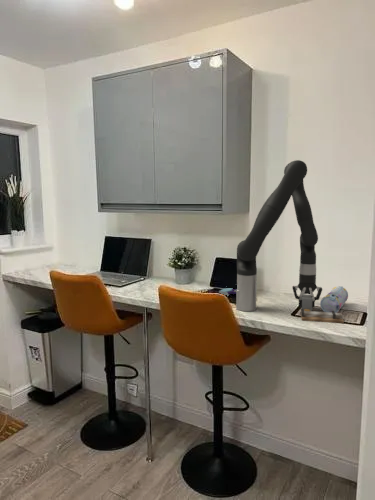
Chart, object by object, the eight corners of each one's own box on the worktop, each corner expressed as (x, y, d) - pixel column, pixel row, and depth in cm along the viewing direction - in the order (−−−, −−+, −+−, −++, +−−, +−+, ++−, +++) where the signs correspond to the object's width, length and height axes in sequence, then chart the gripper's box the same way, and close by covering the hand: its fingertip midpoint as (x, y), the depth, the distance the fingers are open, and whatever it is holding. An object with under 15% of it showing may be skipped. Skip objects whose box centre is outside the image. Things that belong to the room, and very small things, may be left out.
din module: (302, 311, 170) (302, 298, 169) (301, 306, 178) (301, 294, 178) (312, 312, 169) (312, 299, 168) (310, 307, 177) (311, 294, 176)
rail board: (301, 320, 158) (301, 313, 158) (300, 314, 167) (300, 307, 167) (343, 323, 154) (343, 316, 154) (340, 316, 163) (340, 310, 162)
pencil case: (338, 316, 164) (339, 295, 162) (318, 313, 169) (319, 293, 167) (348, 304, 181) (349, 286, 179) (330, 302, 186) (330, 284, 184)
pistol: (217, 297, 199) (228, 290, 212) (244, 301, 192) (254, 293, 204) (217, 290, 199) (228, 283, 211) (244, 293, 191) (254, 286, 204)
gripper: (292, 273, 170) (291, 309, 172) (324, 275, 166) (323, 311, 169) (291, 270, 177) (290, 304, 179) (322, 271, 173) (321, 306, 176)
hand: (306, 307), depth 174 cm, fingers closed on din module, 4 cm apart
